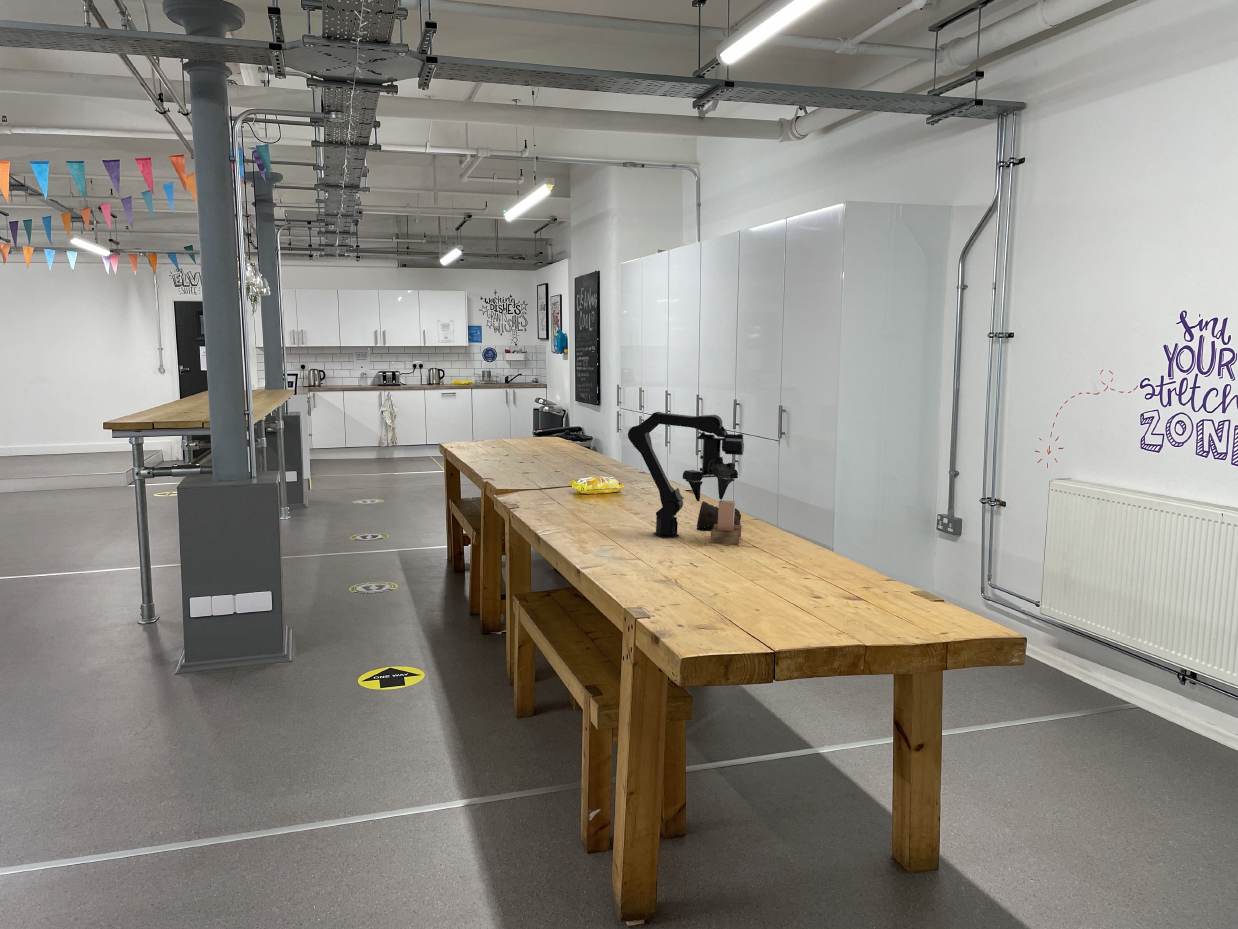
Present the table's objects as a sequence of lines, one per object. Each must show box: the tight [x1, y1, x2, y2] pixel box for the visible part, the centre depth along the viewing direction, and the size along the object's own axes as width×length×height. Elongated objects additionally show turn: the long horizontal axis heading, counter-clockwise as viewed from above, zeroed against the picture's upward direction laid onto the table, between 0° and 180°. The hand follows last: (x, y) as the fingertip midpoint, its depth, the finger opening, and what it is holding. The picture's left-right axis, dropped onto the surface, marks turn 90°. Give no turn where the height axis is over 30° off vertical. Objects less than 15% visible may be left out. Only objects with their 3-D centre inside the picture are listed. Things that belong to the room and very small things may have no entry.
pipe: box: [696, 500, 742, 530], centre depth 305 cm, size 10×15×15 cm
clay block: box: [718, 499, 736, 531], centre depth 285 cm, size 5×4×12 cm
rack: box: [709, 524, 742, 546], centre depth 285 cm, size 9×13×4 cm
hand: (709, 500), depth 284 cm, fingers open, 9 cm apart
